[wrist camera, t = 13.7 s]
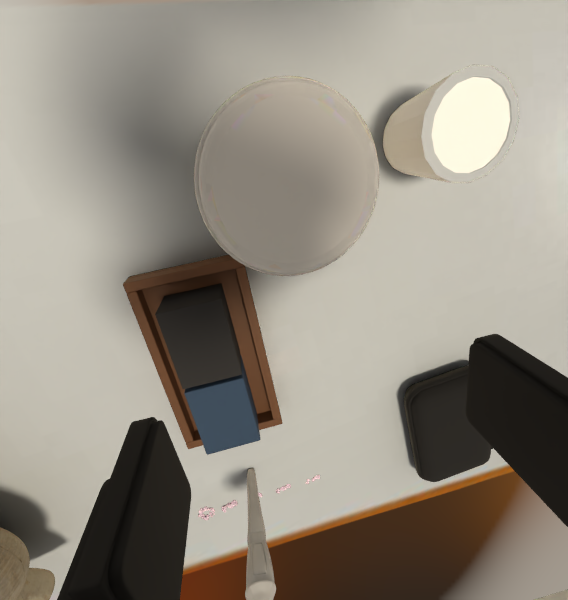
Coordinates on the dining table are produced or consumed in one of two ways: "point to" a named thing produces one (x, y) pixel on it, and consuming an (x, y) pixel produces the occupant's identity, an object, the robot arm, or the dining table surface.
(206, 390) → the blue block
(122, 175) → the dining table surface
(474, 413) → the robot arm
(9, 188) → the dining table surface
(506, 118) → the white short cylinder
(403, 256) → the dining table surface
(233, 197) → the coffee cup
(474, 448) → the carrying case
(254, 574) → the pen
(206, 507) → the flower petals
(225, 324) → the pad
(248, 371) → the tray
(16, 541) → the vase
